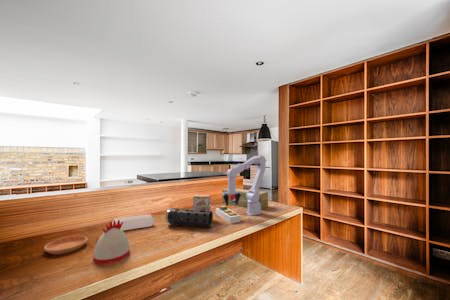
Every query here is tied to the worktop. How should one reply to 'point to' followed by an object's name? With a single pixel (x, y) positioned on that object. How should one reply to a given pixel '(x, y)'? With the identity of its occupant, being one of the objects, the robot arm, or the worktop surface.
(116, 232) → the kitchen timer
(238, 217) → the switch strip
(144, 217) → the crystal
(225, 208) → the button
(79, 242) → the saucer
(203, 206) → the candy bar box
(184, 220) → the muzzle brake
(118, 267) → the worktop surface
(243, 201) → the soda box
